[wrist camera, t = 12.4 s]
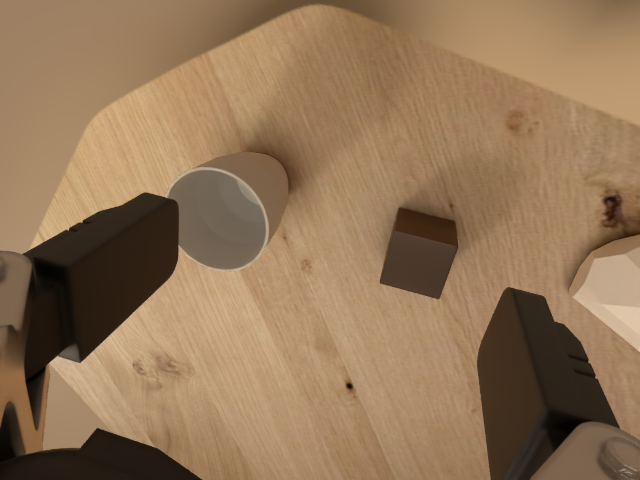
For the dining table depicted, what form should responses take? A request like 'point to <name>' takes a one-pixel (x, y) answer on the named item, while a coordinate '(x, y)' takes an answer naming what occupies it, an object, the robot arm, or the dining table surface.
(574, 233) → the dining table surface
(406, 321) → the dining table surface
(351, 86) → the dining table surface
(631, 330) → the crystal
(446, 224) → the walnut block
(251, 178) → the cup
